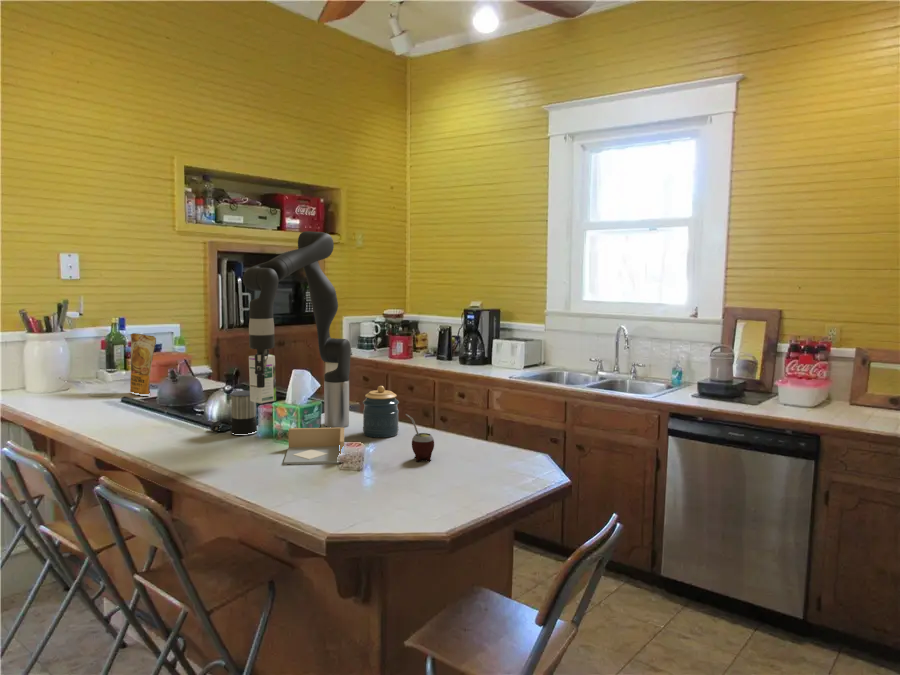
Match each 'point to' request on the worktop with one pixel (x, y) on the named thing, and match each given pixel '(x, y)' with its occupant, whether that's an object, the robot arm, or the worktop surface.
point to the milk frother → (240, 414)
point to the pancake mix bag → (141, 362)
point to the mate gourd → (422, 444)
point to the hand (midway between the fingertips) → (262, 384)
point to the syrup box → (270, 381)
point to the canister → (380, 413)
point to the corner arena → (314, 445)
